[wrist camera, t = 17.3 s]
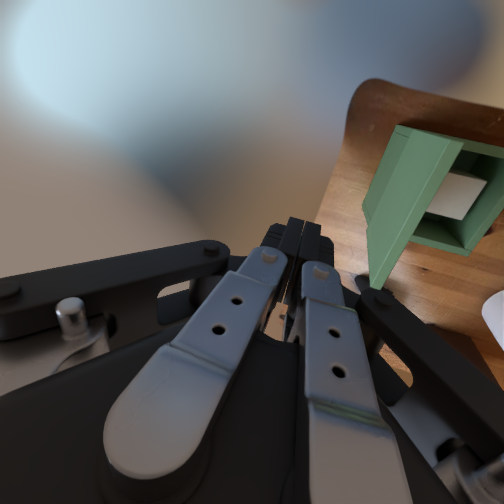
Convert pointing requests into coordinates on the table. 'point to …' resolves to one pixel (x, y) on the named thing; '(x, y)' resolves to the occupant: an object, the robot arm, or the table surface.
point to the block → (456, 194)
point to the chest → (437, 226)
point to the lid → (407, 199)
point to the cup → (495, 316)
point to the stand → (465, 350)
